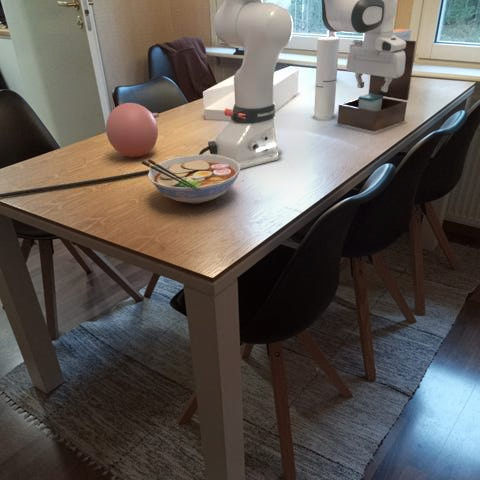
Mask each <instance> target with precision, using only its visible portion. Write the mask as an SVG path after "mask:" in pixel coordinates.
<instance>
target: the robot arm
mask: <svg viewBox="0 0 480 480" xmlns="http://www.w3.org/2000/svg"><path fill="white" fill-rule="evenodd" d="M396 8H397V0H321V16H322V17H321V18H322V22H323V25H324V27H325V28H326V29H327V31H328V30H329V31H331V32H336V33H347V34H356V35H357V34H358V35H359V34H362V40H361V39H360V40H358V39H354V40H353V41H351V42H350V44H349V49H348V55H347V60H346V70H347V72H348V73H355V75H354V77H355V79H356V82H357V86H356V88H357V89H363V88H364V87H365V81H363V77H362V76H363V75H368V76H370V75H375V76H382V77H385V81H386V82H385V84H384V85H383V86H381V92H387V91H388V86H389V84H390V83H391V81H392V78H399V77H401V76H402V75H403V74H404V70H405V58H406V56H405V52H404V51H403V50H402V49H405V47H406V42H405V41H404V40H402V39H400V38H398V37H397V36H395V35H393V30H394V24H393V22H394V18H395V16H396ZM292 17H293V16H292V15H291V13H290V11H289V10H288V9H287V8H286V7H283V6H281V5H279V4H276V3H273V2H265V1H263V0H223V2H222V4H221V6H220V7H219V8H218V9H217V11H216V13H215V16H214V20H213V28H214V32H215V35H216V36H217V38H218V40H220V42H222V43H224V44H225V45H227V46H230V47H232V48H234V49H235V48H236V49H240V50H241V49H242V50H243V52H244V54H243V58H242V63H241V66H240V68H238V69H237V70H236V71H235V73H234V75H235V76H234V75H233V76H234V91H235V105H234V107H233V111H232V110H231V109H228V108H226V109H225V111H224V113H225V116H229V117H231V121H228V123H227V124H226V126H224V128H223V129H222V131H221V132H220V133H219V134H218V135H217V137H215V140H210V141H207V144H208V146H206V147H204V148H203V149H201V150H200V151H199V153H198V155H202V154H205V153H206V152H208V151H209V155H218V156H223V157H227V158H231V159H233V160H234V161H236V162H237V163H238V164H239V165H240V170H242V169H246V168H250V167H254V166H258V165H261V164H266V163H270V162H273V161H277V160H279V153H280V150H279V147H278V142H277V137H276V128H275V119H274V118H275V116H276V111H275V104H274V102H273V82H274V75H275V70H276V66H277V64H278V59H279V58H280V55H281V53H282V51H283V50H284V49H285V48H286V47H287V46H288V45H289V43H290V41H291V39H292V36H293V31H294V22H293V18H292ZM149 171H150V169H147V170H141V171H136V172H129V173H125V174H120V175H119V174H118V175H114V176H108V177H101V178H95V179H90V180H83V181H82V180H81V181H77V182H70V183H64V184H57V185H56V184H55V185H49V186H43V187H35V188H31V189H30V188H29V189H22V190H16V191H9V192H4V193H0V199H1V198H6V197H7V198H8V197H13V196H19V195H20V196H21V195H27V194H32V193H39V192H46V191H52V190H59V189H67V188H73V187H79V186H86V185H92V184H99V183H105V182H111V181H117V180H123V179H128V178H133V177H138V176H143V175H148V174H149Z"/></svg>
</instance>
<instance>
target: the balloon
mask: <svg viewBox="0 0 480 480" xmlns="http://www.w3.org/2000/svg"><path fill="white" fill-rule="evenodd" d="M159 116H160V114H159V113H158V112H152V111H150V110H149V109H148V108H147V107H145V106H143V105H141V104H139V103H135V102H125V103H122V104H119V105H117V106H116V107H114V108H113V109H112V110H111V112H110V113H109V115H108V117H107V119H106V124H105V132H106V136H107V137H106V138H107V140H108V142H109V143H110V146H111V147H112V148H113V149H114V150H115V151H116V152H118V153H119V154H121V155H122V156H125V157H128V158H140V157H143V156H145V155H147V154H149V153H150V152H151V151H152V150H153V149H154V147H155V145H156V143H157V141H158V136H159V128H158V123H157V121H156V118H159Z"/></svg>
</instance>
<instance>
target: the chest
mask: <svg viewBox="0 0 480 480" xmlns="http://www.w3.org/2000/svg"><path fill="white" fill-rule="evenodd" d="M358 105H359V97H358V98H356V99H352V100H349V101H346V102H342V103H339V104H338V111H337V124H339V125H343V126H348V127H352V128H357V129H360V130H365V131H369V132H374V133H376V132H378V131H382V130H383V129H386V128H389V127H392V126H394V125H397V124H400V123H402V122H404V121H405V120H406V114H407V113H406V112H407V105H408V101H406V100H401V99H395V98H389V97H383V98H382V105H381V110H379V111H372V110H367V109H362V108H358Z"/></svg>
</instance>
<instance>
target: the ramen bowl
mask: <svg viewBox="0 0 480 480" xmlns="http://www.w3.org/2000/svg"><path fill="white" fill-rule="evenodd" d="M141 165H144V166H146V167H148V168H150V169H149V170H150V171H149V174H147V177H148V178H149V180H150V181H151V183H152V184H153V185H154V187H155V188H156V189H157V190H158V191H159V192H160V194H162V195H163V196H164V197H166V198H169V199H170V200H173V201H176V202H180V203H187V204H193V205H195V204H204V203H206V202H208V201H212V200H215V199H216V198H218V197H221V196H222V195H224V194H226V193H227V191H229V189H230V188H231V187H232V186H233V185H234V183H235V182H236V180H237V179H238V177H239V174H240V172H241V169H240V165H239V164H238V163H237V162H236V161H234V160H233V159H231V158H227V157H223V156H218V155H211V154H207V153H206V154H205V153H203V154H202V155H199V154H188V155H182V156H177V157H171V158H169V159H166V160H164V161H161V162H158V163H157V162H155V161H154V160H152V159H151V158H149V159H147V161H145V160H142V161H141Z"/></svg>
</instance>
